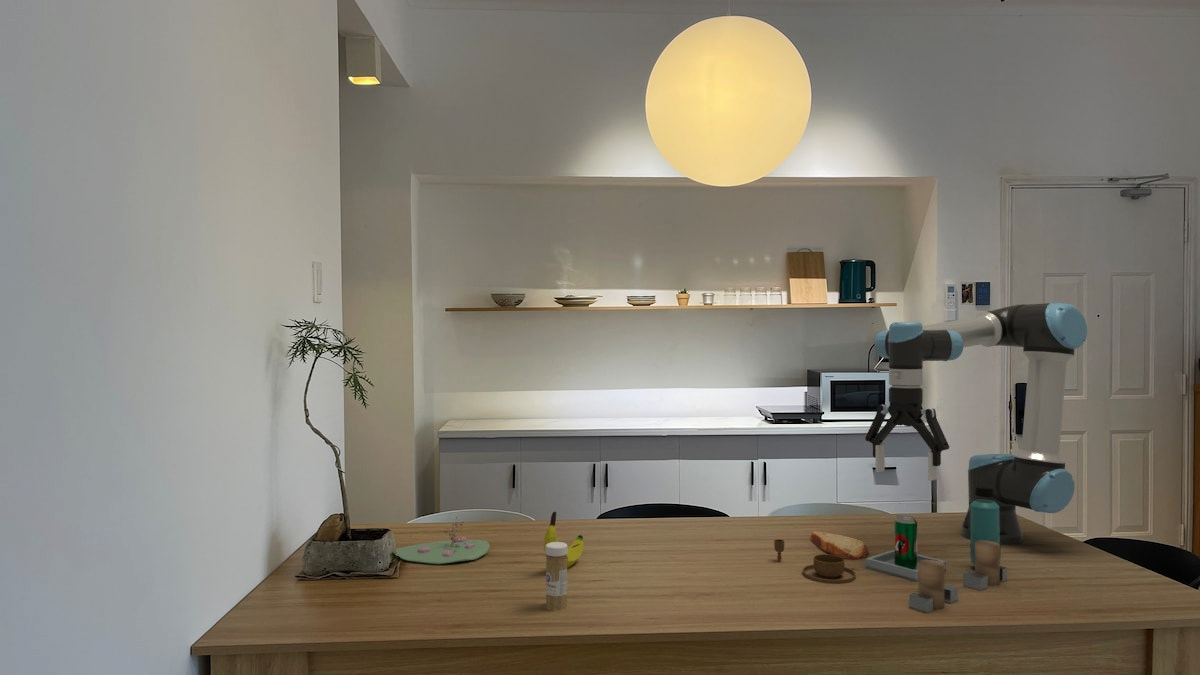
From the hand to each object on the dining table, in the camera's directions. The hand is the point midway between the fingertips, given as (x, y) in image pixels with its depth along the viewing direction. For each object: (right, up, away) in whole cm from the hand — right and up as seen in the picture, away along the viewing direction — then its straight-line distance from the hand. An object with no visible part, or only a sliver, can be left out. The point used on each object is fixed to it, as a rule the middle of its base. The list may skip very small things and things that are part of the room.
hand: (905, 475), depth 184 cm
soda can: (0, -22, 0) cm, 22 cm away
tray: (0, -23, 0) cm, 23 cm away
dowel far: (+15, -23, -9) cm, 29 cm away
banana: (-81, -23, +2) cm, 85 cm away
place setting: (-20, -24, 0) cm, 31 cm away
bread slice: (-11, -23, +19) cm, 32 cm away
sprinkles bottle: (-82, -23, -25) cm, 89 cm away
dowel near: (-4, -23, -24) cm, 33 cm away
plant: (-115, -24, +18) cm, 118 cm away
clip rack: (+5, -23, -17) cm, 29 cm away
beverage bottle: (+19, -23, 0) cm, 30 cm away
